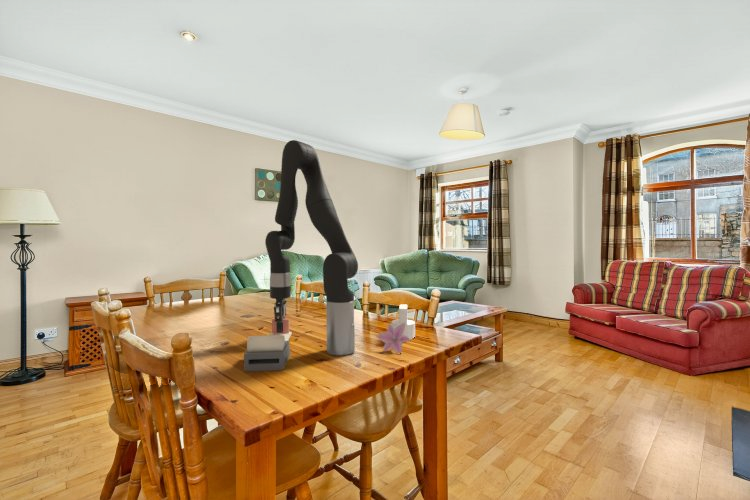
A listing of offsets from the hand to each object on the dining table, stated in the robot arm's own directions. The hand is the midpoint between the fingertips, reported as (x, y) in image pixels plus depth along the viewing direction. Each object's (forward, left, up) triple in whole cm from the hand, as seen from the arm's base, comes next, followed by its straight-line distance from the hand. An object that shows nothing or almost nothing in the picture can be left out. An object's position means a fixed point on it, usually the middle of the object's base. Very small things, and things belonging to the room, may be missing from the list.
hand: (280, 330), depth 131 cm
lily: (-40, +16, -4) cm, 43 cm away
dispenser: (0, +23, -4) cm, 23 cm away
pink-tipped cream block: (0, +9, -1) cm, 9 cm away
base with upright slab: (-46, +1, -4) cm, 46 cm away
